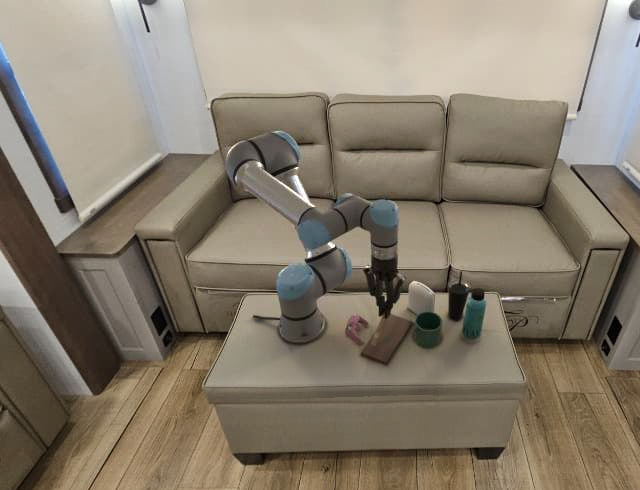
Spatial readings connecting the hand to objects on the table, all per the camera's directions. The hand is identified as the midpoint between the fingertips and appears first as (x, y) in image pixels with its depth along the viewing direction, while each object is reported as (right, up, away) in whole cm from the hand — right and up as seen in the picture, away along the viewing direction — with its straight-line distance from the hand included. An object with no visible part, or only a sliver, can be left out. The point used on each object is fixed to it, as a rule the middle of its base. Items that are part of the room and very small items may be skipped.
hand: (384, 314), depth 132 cm
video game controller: (-10, -8, +12) cm, 17 cm away
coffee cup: (+14, -9, +11) cm, 20 cm away
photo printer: (+12, -2, +20) cm, 24 cm away
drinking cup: (+24, -3, +19) cm, 31 cm away
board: (+1, -9, +10) cm, 13 cm away
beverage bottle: (+29, -9, +11) cm, 32 cm away
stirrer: (0, -1, 0) cm, 1 cm away
